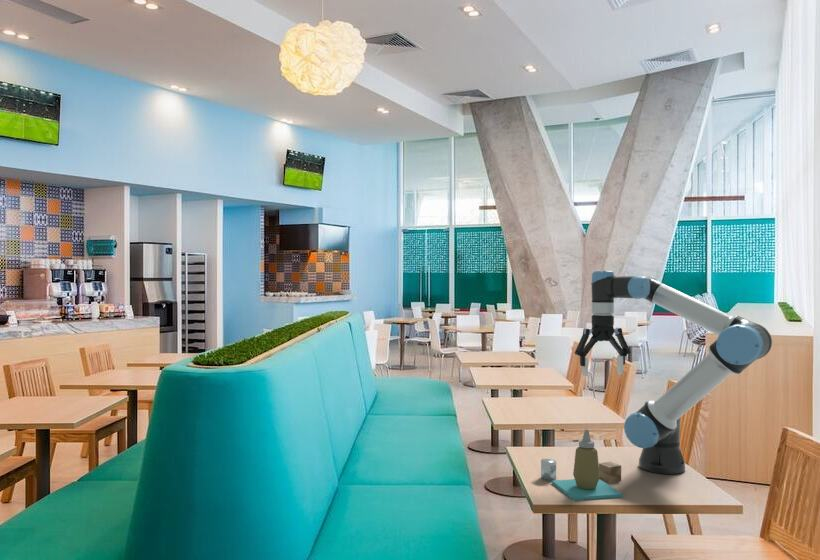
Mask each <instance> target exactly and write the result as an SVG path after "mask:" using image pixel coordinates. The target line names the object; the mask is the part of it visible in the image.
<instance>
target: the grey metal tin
mask: <svg viewBox="0 0 820 560" xmlns="http://www.w3.org/2000/svg"><path fill="white" fill-rule="evenodd" d="M540 479H541V480H542V481H544V480H545V482H552V481H553V480H557V460H555V459H554V458H553V459H552V458H542V459H541V460H540Z"/></svg>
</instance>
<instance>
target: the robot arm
mask: <svg viewBox="0 0 820 560" xmlns="http://www.w3.org/2000/svg"><path fill="white" fill-rule="evenodd" d="M590 285H591V314H592V315H591V328H587V327H586V328H585V327H584V328H583V331H582V336H581V338H580V340H579V342H578V344H577V346H576V349H575V350H574V355H576V356H579V365H580V366H581V375H582V376H585V377H589V358H588V356H587V355H588V354H589V353H590V351H591V350H592V349H593V347H595V346H594V345H596V343H598V342H603V341H604V342H609V343H610V345H611V346H612V347H613V348H614V349H615V351H616V352H617V353H618V355H617V356H616V360H617V361H616V364H617V365H616V367H617V368H616V370H617V371H616V373H617V374H618V375H619V376H622V375H623V376H624V365H626V357H627V356H628V355H630V354H631V350H630V347H629V345H628V343H627V341H626V339H625V337H624V335H623V328H621V327H615V328H614V325H615V317H614V313H615V303H614V302H615V299H634V300H637V299H638V300H639V299H645V300H647V301H648V302H650V303H653V304H655V305H657V306H658V307H661V308H663V309H664V310H667V311H669V312H670V313H673V314H675V315H677V316H679V317H681V318H682V319H685V320H686V321H689V322H690V323H693V324H695V325H697V326H699V327H701V328H703V329H705V330H707V331H709V332H711V333H713V334H715V335H716V336H718V337H717V339H715V341H714V342H712V343H711V344H710V345H709V347H708V354H707V355H706V356H705V357H703V358H702V359H701V360H700V361H699V362H698V363H697V364H696V365H695V366H693V368H691V369H690V370H689V371H688V372H687V373H685V375H684V376H682V377H681V378H680V379H679V380H678V381H677V382H675V384H673V385H672V386H671V387H670V388H669V389H668V390H667V391H665V393H663V394H662V395H661V396H660V397H659V398H658V399H657V400H654V399H650V400H649V401H647V400H646V401H645V402H644V404H643V406H641V408H640V409H638V410H637V411H636V412H634V413H631V414H629V415H628V417H627V418H626V419H625V421H624V424H623V429H624V434H625V437H626V438H627V441H629V442H630V443H631V444H632V445H634V446H635V447H637V448H640V449H641V452H640V456H639V458H638V467H639V468H640V469H643V471H647V472H651V473H654V474H664V475H677V474H678V475H679V474H682V473H685V471H686V463H685V462H686V461H685V460H684V457H683V456H684V455H683V453H682V450H681V446H680V445H681V439H680V438H681V433H680V432H681V418H682V416H684V415H685V414H686V413H687V412H688V411H690V410H691V409H692V408H693V407H694V406H696V404H697V403H699V402H700V401H702V400H703V398H705V397H706V396H707V395H709V393H711V392H712V391H713V390H714V389H715V388H717V386H719V385H720V384H721V383H722V382H723V381H725V380H726V379H727V378H728V377H729V376H731V375H740V374H741V373H742V372H743V371H745V370H746V369H747V368H748V367H749V366H750V365H752V364H753V363H755V361H757V360H760V359H762V358H764V357H766V356H767V355H768V353H770V350H771V348H772V344H773V339H772V336H771V333H770V332H769V331H768V329H767V328H766V327H765V326H763V325H761V324H759V323H757V322H754V321H751V320H749V319H747V318H744V317H742V316H739V315H733V316H732V315H730V314H728V313H726V312H723V311H721V310H720V309H718V308H715V307H713V306H711V305H709V304H707V303H704V302H702V301H700V300H698V299H696V298H694V297H692V296H690V295H688V294H686V293H684V292H681V291H680V290H677V289H675V288H673V287H671V286H668V285H666V284H664V283H662V282H661V281H659V280H658V279H657V278H655V276H650V275H644V276H642V275H641V276H640V275H633V276H631V275H630V276H629V275H628V276H627V275H626V276H625V275H624V276H615V273H614V271H613V270H594V271H593V272H592V274H591V282H590ZM614 334H615V336H616V338H617V340H618V342H619V343H618V342H617V340H616V338H615V337H614ZM591 335H592V336H591ZM590 336H591V337H590ZM588 340H589V341H588Z"/></svg>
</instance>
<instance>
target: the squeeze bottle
mask: <svg viewBox="0 0 820 560" xmlns="http://www.w3.org/2000/svg"><path fill="white" fill-rule="evenodd" d="M598 455H599V454H598V450H597V449H596V447H595V441H594V440H591V436H590V430H589V429H587V428H586V429H584V432H583V435H582V439H580V440H579V441H578V447H576V448H575V453H574V463H573V472H572V473H573V474H572V475H573V477H574V479H575V481H576V485H577V487H579V488H582V489H595V488H596V486H597V484H598V481H599V479H600V473H599V463H600V462H599V456H598Z"/></svg>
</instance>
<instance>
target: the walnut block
mask: <svg viewBox="0 0 820 560" xmlns="http://www.w3.org/2000/svg"><path fill="white" fill-rule="evenodd" d="M598 463H599V473H600V478H599V479H600V480H602V481H604V482H607V483H613V482H619V481H622V465H621V464H618V463H617V462H616V463H615V462H612V461H610V460H609V461H606V462H598Z"/></svg>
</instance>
